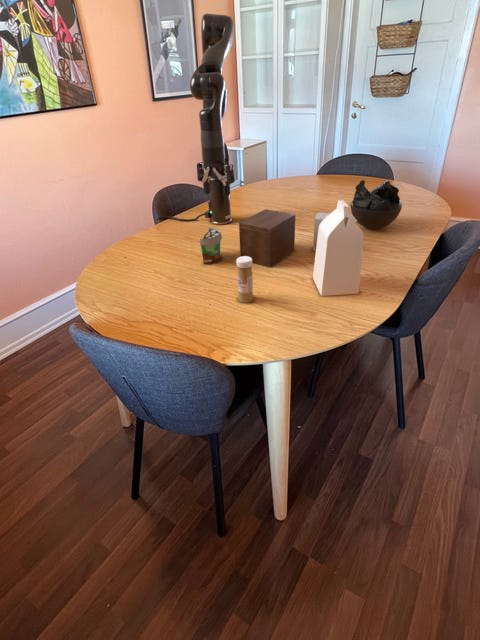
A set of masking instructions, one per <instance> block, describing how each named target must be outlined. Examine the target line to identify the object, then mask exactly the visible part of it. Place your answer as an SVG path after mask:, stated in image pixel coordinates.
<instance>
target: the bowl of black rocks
mask: <svg viewBox="0 0 480 640" xmlns="http://www.w3.org/2000/svg"><path fill="white" fill-rule="evenodd" d="M365 184H366V180H364V179H361V180H360V181H359V183H358V184H357V185H356V186H355V187H354V190H355V191H354V195H353V199H352V201H351V202H350V211H351V214H352V215H353V216H354V217H355V219H356V220H357V222H356V223H357V224H358V225H360V226H362V227H363V228H366V229H369V230H370V229H371V230H378V229H383V228H385V227H387V226H389V225H391V224H392V223H393V222H394V221H395V220H396V219H397V218H398V216H399V215H400V213H401V211H402V208H403V204H402V203H401V202H400V200H401V197H400V196H399V193H400V189H399V188H398V187H397V186H394V185H393V184H391V181H390V180H388V179H386V180H385V181H384V182H382V183H381V184H380V185H378V186H377V187H375V188H373V189H372V190H369V189H368V188H367V187H366V186H365Z"/></svg>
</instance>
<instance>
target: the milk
mask: <svg viewBox="0 0 480 640" xmlns="http://www.w3.org/2000/svg"><path fill="white" fill-rule="evenodd" d="M330 213H331V214H330V215H328V216H327V217H326V218H325V219H324V220H323V221H322V222H321V223H320V225H319V230H318V238H317V247H316V251H315V255H314V264H313V273H312V279H313V282H314V283H315V286H316V288H317V290H318V292H319V295H320V296H321V297H325V296H340V295H341V296H342V295H343V296H344V295H353V294H354V295H355V294H357V295H358V294H360V285H361V273H362V264H363V263H362V262H363V253H364V241H365V235H364V231H363V230H362V229H361V228H360V227H359V226H358V225H357V224H356V223H358V222H357V220H356V219H355V217H354V216H353V215H352V213H350V207H349V205H348V204H347V203H346V202H345V200H343V199H341V200H337V204H336V208H335V209H334V210H333V211H332V212H330Z"/></svg>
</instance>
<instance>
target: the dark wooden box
mask: <svg viewBox="0 0 480 640" xmlns="http://www.w3.org/2000/svg"><path fill="white" fill-rule="evenodd" d="M238 233H239V253H240V256H239V257H242V256H248V257H251V258H252V264H257V265H260V266H262V267H263V266H264V267H268V268H272V267H273V266H275V265H276V264H277V263H279V262H280V261H282V260H284V258H286V257H288V256H289V255H290V254H292V253H293V252H294V251H295V245H296V243H295V242H296V241H295V240H296V214H294V213H290V212H285V211H278V210H272V209H268V208H267V209H263V210H260V211H258V212H257V213H255V214H253V215H251V216H249V217H246V219H244V220H241V221H240V222H238Z"/></svg>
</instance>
